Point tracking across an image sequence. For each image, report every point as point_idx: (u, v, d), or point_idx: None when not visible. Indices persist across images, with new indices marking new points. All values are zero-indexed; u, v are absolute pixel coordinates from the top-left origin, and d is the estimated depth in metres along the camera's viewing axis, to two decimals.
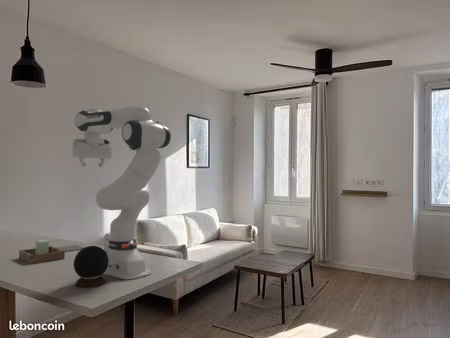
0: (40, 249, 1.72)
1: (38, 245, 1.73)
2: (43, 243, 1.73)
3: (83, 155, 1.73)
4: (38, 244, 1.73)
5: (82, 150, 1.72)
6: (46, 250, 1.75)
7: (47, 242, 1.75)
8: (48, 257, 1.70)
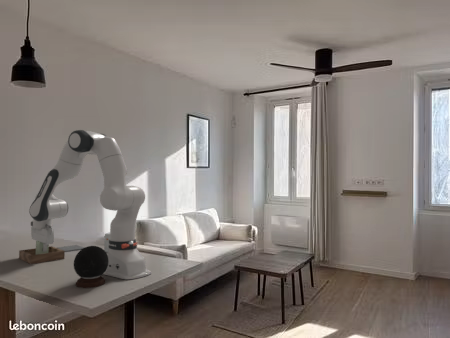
0: (40, 249, 1.72)
1: (38, 245, 1.73)
2: None
3: None
4: (38, 244, 1.73)
5: None
6: None
7: None
8: (48, 257, 1.70)
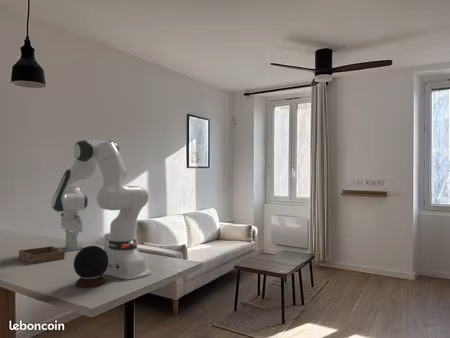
0: (70, 239, 1.97)
1: (68, 236, 1.97)
2: (72, 234, 1.98)
3: None
4: (68, 235, 1.97)
5: None
6: (75, 240, 1.99)
7: None
8: (48, 257, 1.70)
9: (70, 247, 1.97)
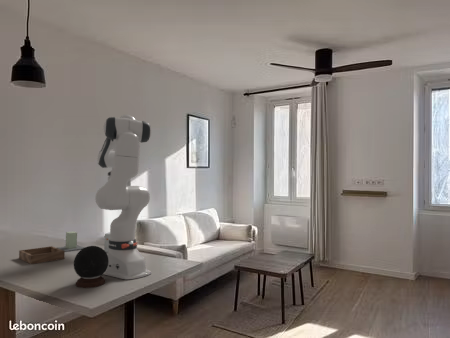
0: (70, 239, 1.97)
1: (68, 236, 1.97)
2: (72, 234, 1.98)
3: None
4: (68, 235, 1.97)
5: None
6: (75, 240, 1.99)
7: (76, 233, 1.99)
8: (48, 257, 1.70)
9: (70, 247, 1.97)
